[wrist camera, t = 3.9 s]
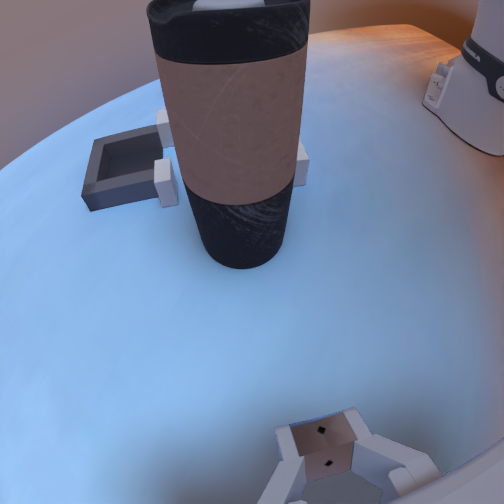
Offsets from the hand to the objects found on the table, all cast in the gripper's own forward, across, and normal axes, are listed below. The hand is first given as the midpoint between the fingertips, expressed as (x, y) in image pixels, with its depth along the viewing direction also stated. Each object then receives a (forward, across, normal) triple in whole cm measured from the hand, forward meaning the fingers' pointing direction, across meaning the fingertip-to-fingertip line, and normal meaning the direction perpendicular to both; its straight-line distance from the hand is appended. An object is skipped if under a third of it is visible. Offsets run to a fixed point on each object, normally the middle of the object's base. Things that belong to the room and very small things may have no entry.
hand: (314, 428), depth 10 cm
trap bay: (+27, +11, -11) cm, 31 cm away
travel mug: (+20, 0, -3) cm, 20 cm away
